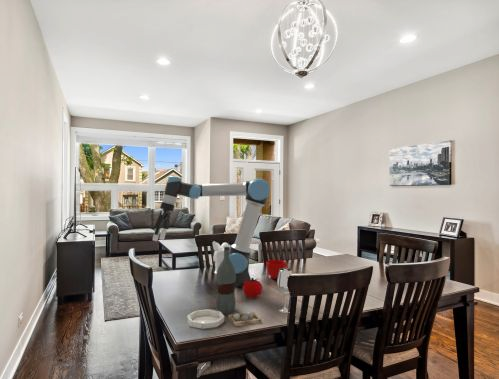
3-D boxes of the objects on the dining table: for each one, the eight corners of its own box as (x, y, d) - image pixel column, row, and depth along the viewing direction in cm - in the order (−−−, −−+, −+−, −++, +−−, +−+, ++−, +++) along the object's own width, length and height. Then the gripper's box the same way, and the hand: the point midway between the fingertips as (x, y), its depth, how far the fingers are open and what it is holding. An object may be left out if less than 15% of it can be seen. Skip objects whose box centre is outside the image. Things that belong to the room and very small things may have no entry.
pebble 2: (246, 319, 147) (247, 313, 147) (249, 322, 144) (249, 315, 144) (240, 320, 146) (240, 313, 146) (242, 323, 143) (242, 316, 143)
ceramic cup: (280, 283, 206) (281, 266, 205) (261, 277, 218) (262, 261, 218) (294, 279, 214) (295, 263, 214) (275, 273, 227) (276, 259, 227)
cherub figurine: (226, 271, 232) (227, 239, 232) (232, 275, 221) (233, 242, 221) (209, 272, 228) (210, 239, 228) (214, 277, 216) (215, 242, 216)
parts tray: (253, 316, 153) (253, 311, 153) (261, 324, 144) (261, 319, 144) (228, 319, 148) (228, 315, 148) (234, 327, 140) (234, 323, 140)
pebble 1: (238, 318, 148) (238, 311, 148) (241, 321, 146) (241, 314, 145) (232, 319, 147) (232, 312, 147) (234, 322, 144) (234, 315, 144)
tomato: (239, 295, 182) (240, 276, 182) (257, 293, 186) (257, 275, 185) (246, 301, 172) (247, 282, 172) (265, 299, 176) (265, 280, 176)
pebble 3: (252, 317, 150) (252, 310, 150) (254, 319, 148) (254, 312, 147) (245, 317, 149) (245, 311, 149) (248, 320, 146) (248, 313, 146)
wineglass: (275, 308, 162) (275, 267, 162) (291, 308, 163) (291, 267, 163) (277, 315, 155) (278, 271, 154) (294, 314, 155) (295, 271, 155)
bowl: (217, 313, 155) (218, 308, 155) (227, 326, 141) (227, 320, 141) (185, 317, 150) (185, 311, 150) (191, 331, 136) (191, 325, 136)
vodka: (217, 306, 164) (218, 245, 163) (236, 307, 164) (237, 245, 163) (214, 314, 154) (215, 249, 154) (234, 314, 154) (235, 249, 154)
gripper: (167, 203, 202) (158, 237, 200) (155, 199, 178) (144, 239, 175) (179, 206, 202) (170, 240, 200) (169, 203, 177) (158, 242, 175)
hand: (158, 240), depth 188 cm, fingers open, 13 cm apart
